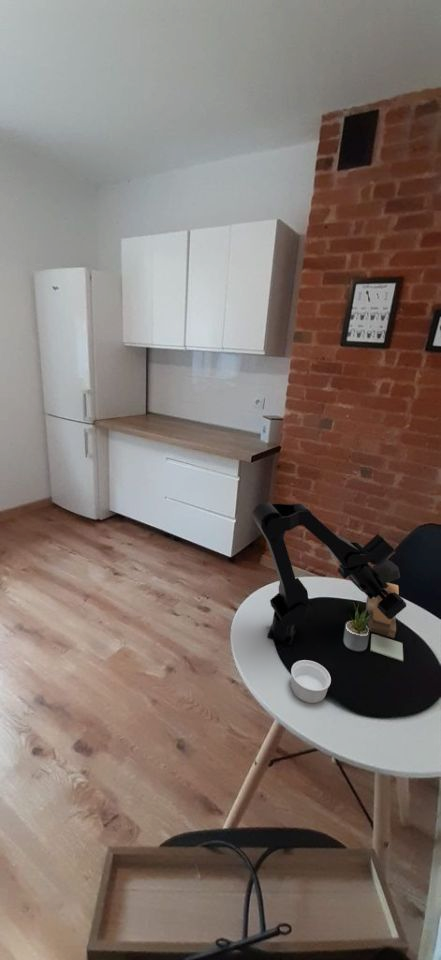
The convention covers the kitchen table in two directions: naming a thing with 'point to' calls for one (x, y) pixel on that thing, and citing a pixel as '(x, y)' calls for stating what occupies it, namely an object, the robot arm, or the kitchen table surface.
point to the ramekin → (309, 681)
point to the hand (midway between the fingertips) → (388, 606)
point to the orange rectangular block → (377, 614)
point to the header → (377, 626)
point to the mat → (386, 647)
